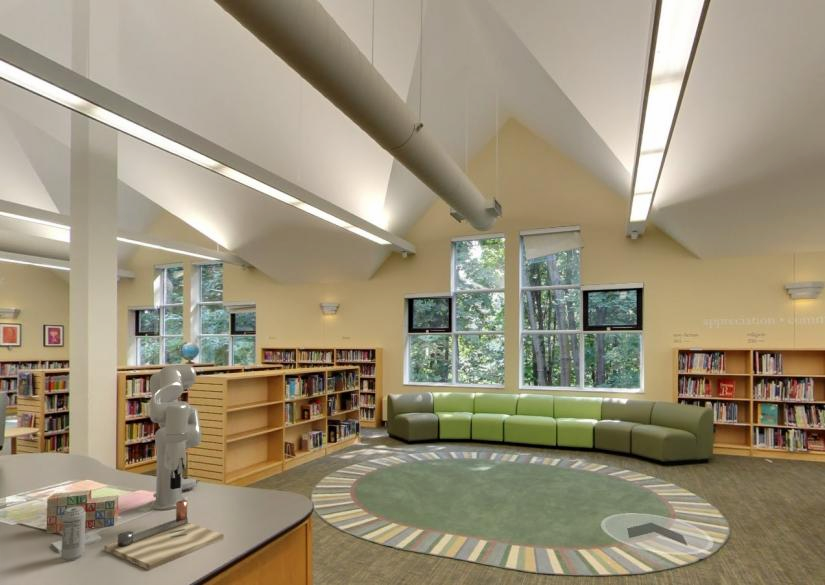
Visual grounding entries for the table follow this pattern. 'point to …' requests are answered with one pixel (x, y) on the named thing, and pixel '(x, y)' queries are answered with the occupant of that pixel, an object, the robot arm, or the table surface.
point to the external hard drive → (89, 539)
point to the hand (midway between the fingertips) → (175, 488)
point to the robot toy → (189, 483)
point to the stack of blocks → (96, 509)
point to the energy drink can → (73, 533)
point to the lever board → (166, 545)
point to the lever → (181, 519)
